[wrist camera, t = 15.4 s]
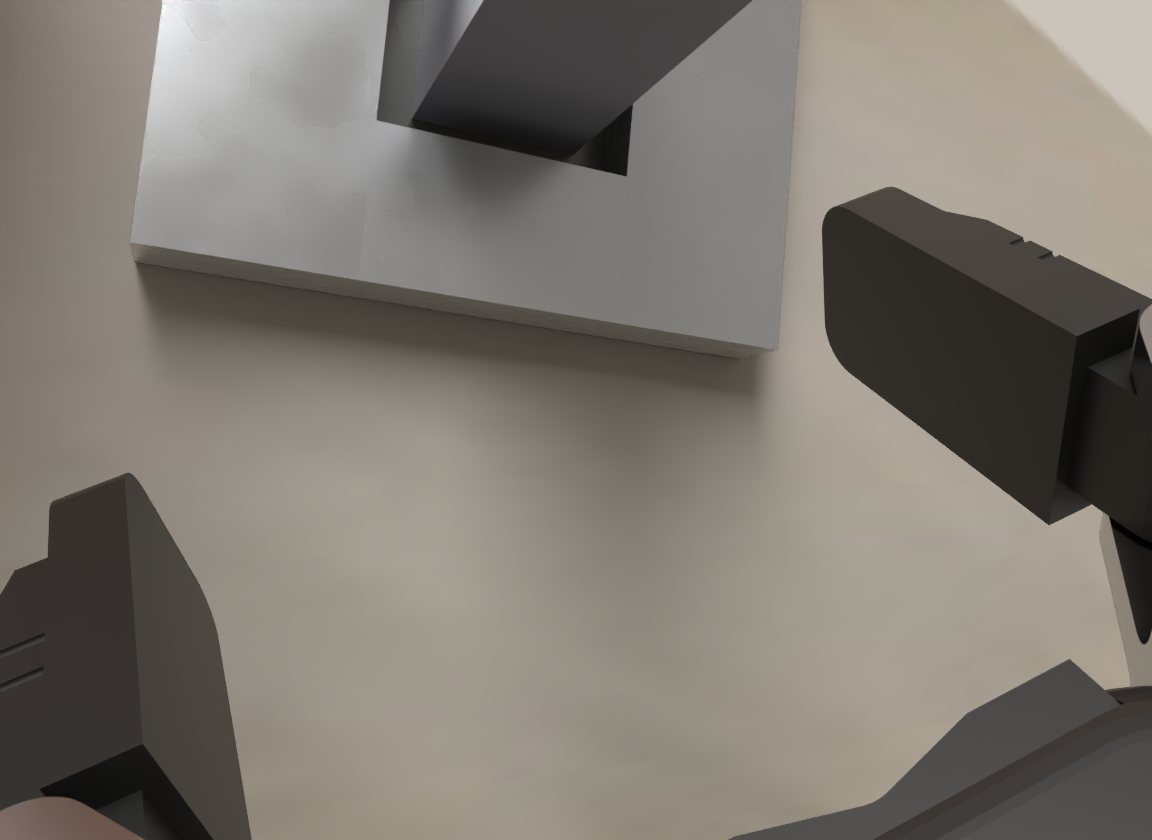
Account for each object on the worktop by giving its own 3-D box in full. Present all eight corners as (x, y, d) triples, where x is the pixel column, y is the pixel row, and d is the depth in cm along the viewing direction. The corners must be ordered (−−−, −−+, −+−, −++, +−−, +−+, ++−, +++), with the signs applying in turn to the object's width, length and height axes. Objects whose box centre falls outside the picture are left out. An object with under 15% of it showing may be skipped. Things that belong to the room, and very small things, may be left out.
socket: (134, 262, 23) (128, 235, 20) (210, -297, 24) (212, -384, 22) (739, 358, 28) (790, 346, 26) (772, -99, 30) (823, -151, 27)
